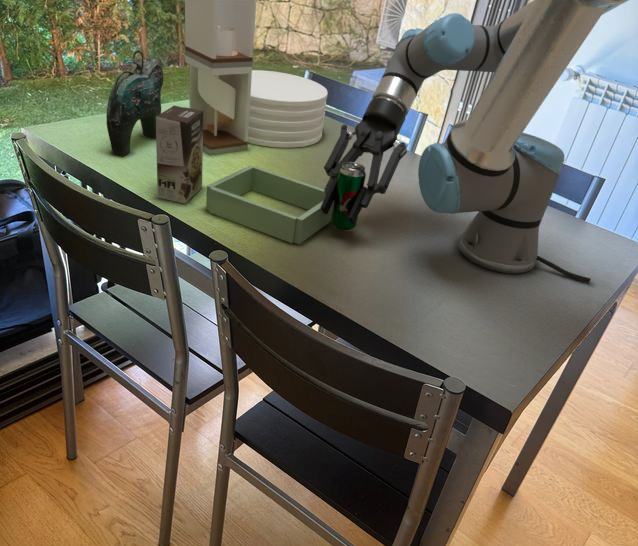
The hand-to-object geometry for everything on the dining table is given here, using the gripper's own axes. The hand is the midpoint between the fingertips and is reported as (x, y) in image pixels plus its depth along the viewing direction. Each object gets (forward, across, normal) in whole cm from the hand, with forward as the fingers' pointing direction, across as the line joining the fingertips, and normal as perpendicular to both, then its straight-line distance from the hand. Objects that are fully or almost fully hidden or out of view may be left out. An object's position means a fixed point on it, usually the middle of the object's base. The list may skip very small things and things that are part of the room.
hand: (337, 215), depth 112 cm
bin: (+3, +15, -5) cm, 16 cm away
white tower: (-14, +46, -22) cm, 53 cm away
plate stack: (-29, +43, -37) cm, 64 cm away
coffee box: (+6, +34, -2) cm, 35 cm away
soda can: (0, 0, -5) cm, 5 cm away
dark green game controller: (-4, +58, -12) cm, 59 cm away
